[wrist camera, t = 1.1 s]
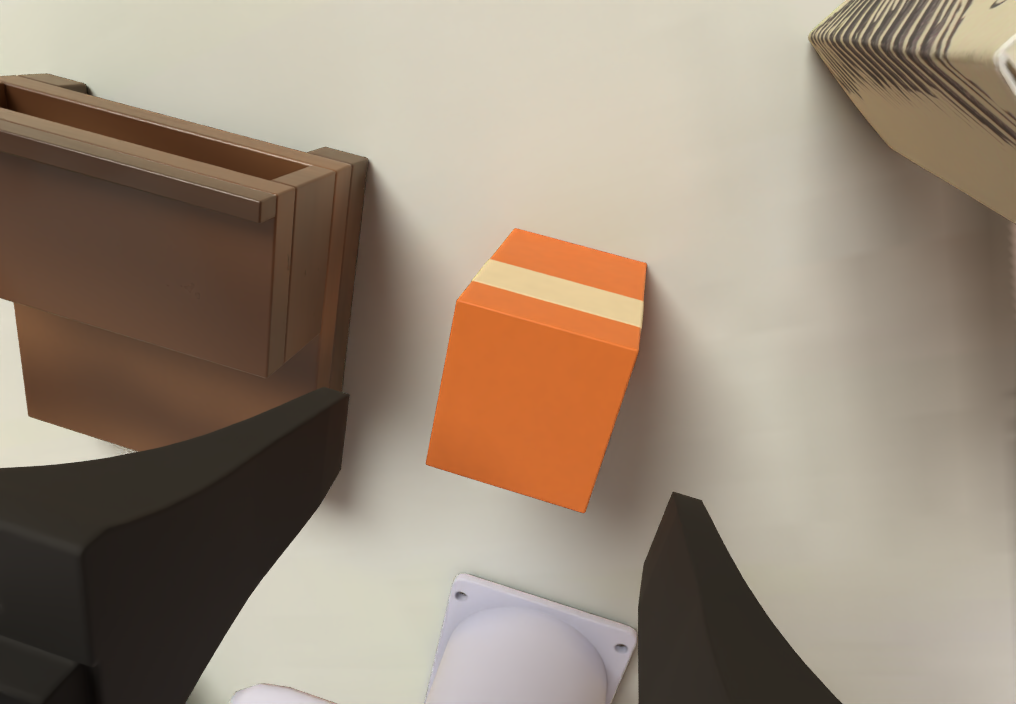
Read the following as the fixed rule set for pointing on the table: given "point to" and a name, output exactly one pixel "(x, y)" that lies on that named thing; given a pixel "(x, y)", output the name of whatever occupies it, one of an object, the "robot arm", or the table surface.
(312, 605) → the table surface
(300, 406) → the robot arm
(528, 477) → the packet
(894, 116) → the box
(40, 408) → the wooden desk organizer
